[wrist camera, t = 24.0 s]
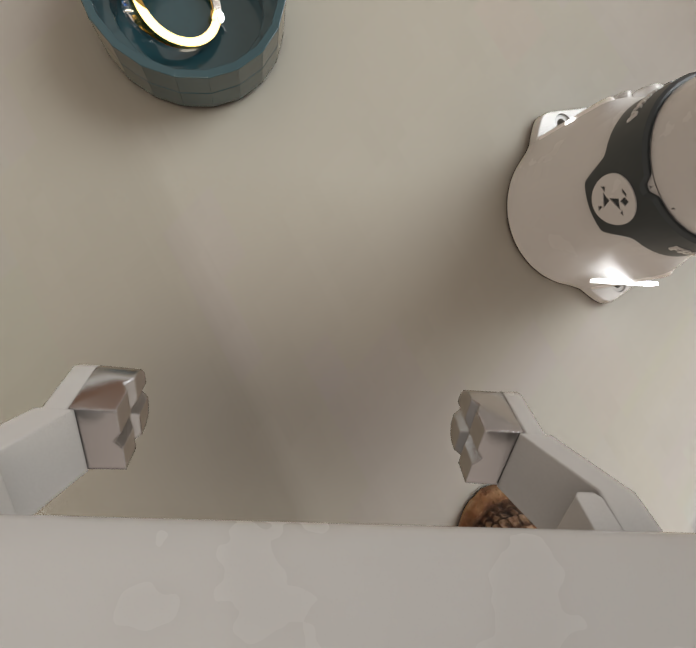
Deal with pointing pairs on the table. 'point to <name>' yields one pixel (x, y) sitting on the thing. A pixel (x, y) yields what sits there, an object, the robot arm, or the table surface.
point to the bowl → (201, 65)
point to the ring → (162, 36)
